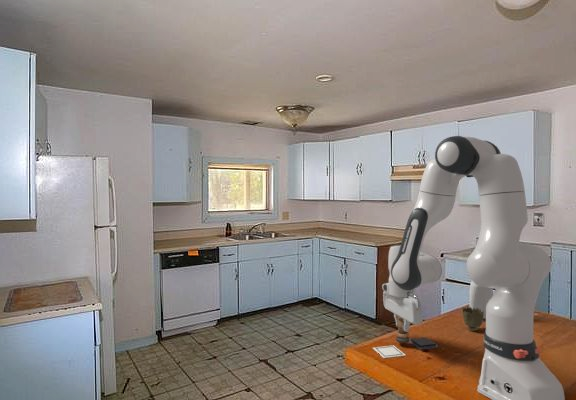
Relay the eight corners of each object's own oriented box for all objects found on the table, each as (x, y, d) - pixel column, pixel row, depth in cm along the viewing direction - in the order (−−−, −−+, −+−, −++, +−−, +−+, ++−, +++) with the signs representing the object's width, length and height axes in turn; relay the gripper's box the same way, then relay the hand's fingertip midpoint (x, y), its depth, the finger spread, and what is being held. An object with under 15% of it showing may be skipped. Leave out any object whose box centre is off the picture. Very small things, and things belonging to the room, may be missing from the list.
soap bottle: (482, 324, 151) (482, 257, 150) (463, 318, 157) (464, 254, 157) (501, 317, 158) (502, 254, 158) (483, 312, 165) (483, 251, 165)
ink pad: (438, 347, 128) (438, 344, 128) (419, 349, 126) (419, 346, 126) (426, 339, 135) (426, 336, 135) (408, 341, 133) (408, 338, 133)
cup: (487, 333, 140) (487, 312, 140) (467, 333, 140) (467, 312, 140) (477, 326, 148) (477, 306, 147) (459, 326, 148) (459, 306, 148)
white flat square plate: (406, 355, 122) (406, 354, 122) (383, 358, 120) (383, 357, 120) (393, 345, 130) (393, 345, 130) (372, 348, 128) (372, 347, 128)
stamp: (411, 342, 129) (411, 313, 129) (400, 343, 128) (399, 314, 128) (404, 337, 133) (404, 310, 133) (393, 339, 132) (393, 311, 132)
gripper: (427, 295, 121) (428, 338, 121) (395, 282, 141) (395, 319, 141) (410, 297, 120) (410, 340, 120) (379, 283, 140) (380, 320, 140)
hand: (402, 328), depth 131 cm, fingers closed on stamp, 3 cm apart
